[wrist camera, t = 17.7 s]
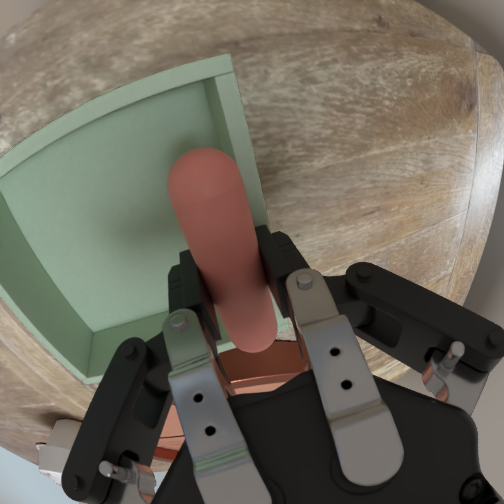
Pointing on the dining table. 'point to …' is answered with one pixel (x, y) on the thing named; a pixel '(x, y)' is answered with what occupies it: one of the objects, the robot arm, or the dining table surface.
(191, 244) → the pink capsule cylinder
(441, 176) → the dining table surface
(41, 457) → the potted plant
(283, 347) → the clock
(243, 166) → the bin
